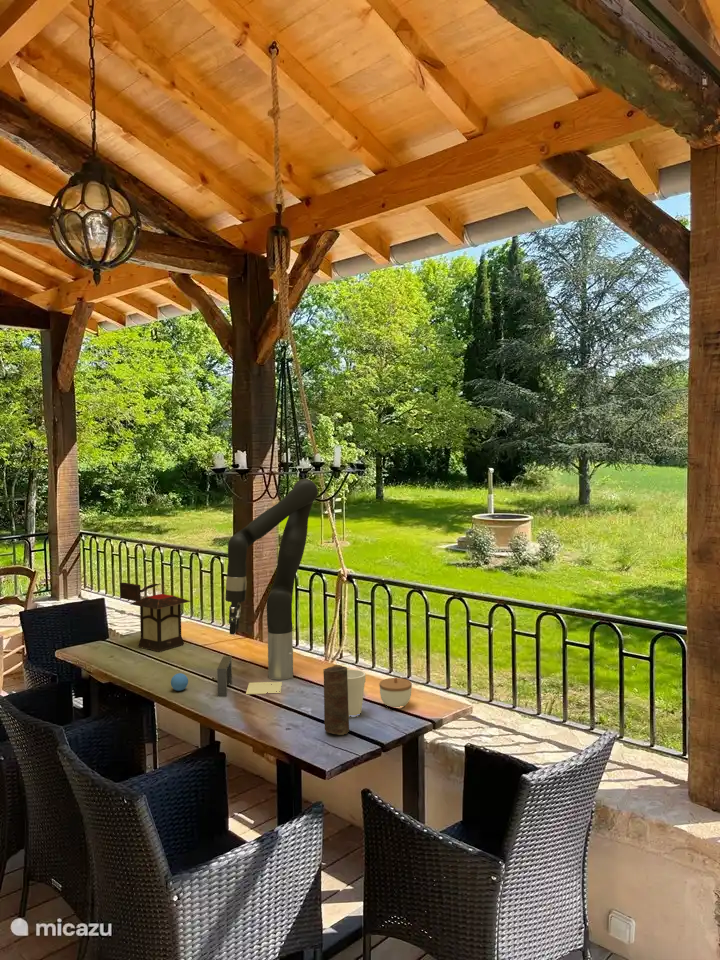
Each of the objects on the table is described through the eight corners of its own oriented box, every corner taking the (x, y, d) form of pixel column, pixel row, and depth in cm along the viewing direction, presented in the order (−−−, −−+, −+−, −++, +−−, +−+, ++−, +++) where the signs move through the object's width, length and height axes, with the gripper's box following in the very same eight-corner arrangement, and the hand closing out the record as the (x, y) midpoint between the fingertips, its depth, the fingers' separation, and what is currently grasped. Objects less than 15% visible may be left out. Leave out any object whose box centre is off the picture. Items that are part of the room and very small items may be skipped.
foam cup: (340, 720, 222) (339, 679, 222) (333, 710, 231) (333, 670, 231) (369, 717, 225) (369, 676, 224) (361, 707, 234) (361, 668, 233)
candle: (329, 739, 208) (328, 671, 207) (320, 730, 214) (319, 665, 214) (353, 734, 211) (352, 668, 210) (343, 726, 218) (343, 661, 217)
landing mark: (282, 682, 260) (282, 681, 260) (280, 693, 248) (280, 692, 248) (249, 683, 259) (249, 682, 259) (245, 694, 247) (245, 693, 247)
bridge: (231, 682, 260) (231, 656, 260) (226, 696, 245) (225, 668, 245) (223, 682, 260) (223, 656, 260) (217, 696, 245) (217, 668, 245)
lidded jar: (378, 700, 240) (378, 673, 239) (409, 699, 240) (409, 672, 240) (381, 712, 229) (380, 683, 229) (413, 711, 230) (413, 682, 229)
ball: (189, 687, 255) (189, 670, 255) (186, 692, 249) (186, 676, 249) (172, 687, 255) (172, 671, 254) (169, 693, 249) (168, 676, 248)
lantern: (115, 652, 301) (114, 582, 300) (164, 638, 322) (162, 573, 321) (143, 659, 291) (142, 586, 289) (191, 644, 312) (190, 577, 311)
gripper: (244, 592, 256) (242, 636, 257) (248, 584, 270) (246, 627, 271) (223, 591, 256) (221, 635, 256) (228, 584, 270) (226, 626, 270)
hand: (234, 631), depth 263 cm, fingers open, 8 cm apart
